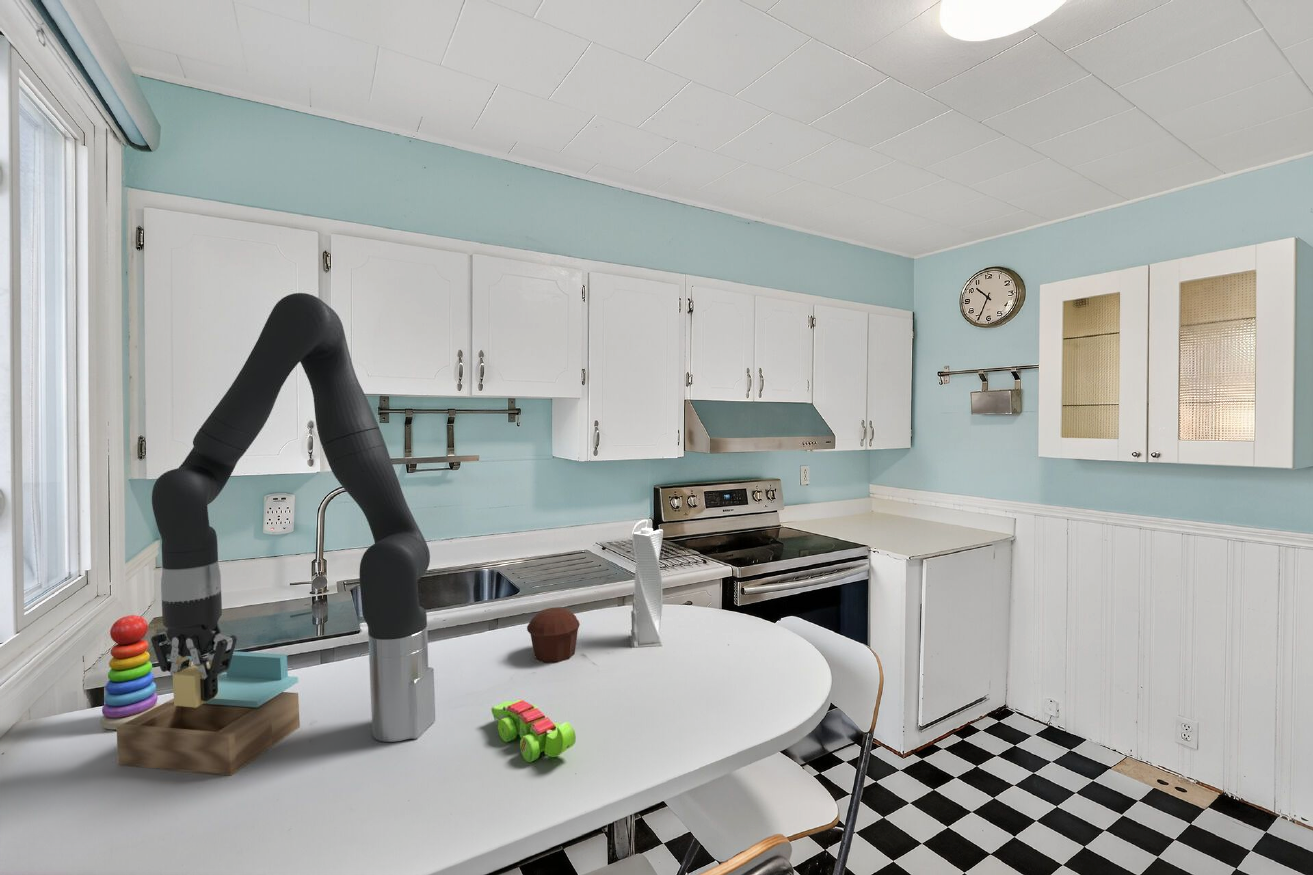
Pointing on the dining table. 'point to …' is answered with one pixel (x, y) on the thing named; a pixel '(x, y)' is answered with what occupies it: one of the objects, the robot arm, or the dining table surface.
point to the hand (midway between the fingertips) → (196, 697)
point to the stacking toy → (128, 674)
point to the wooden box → (206, 735)
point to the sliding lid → (253, 679)
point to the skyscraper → (646, 588)
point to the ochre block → (188, 687)
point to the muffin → (553, 635)
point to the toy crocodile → (532, 729)
